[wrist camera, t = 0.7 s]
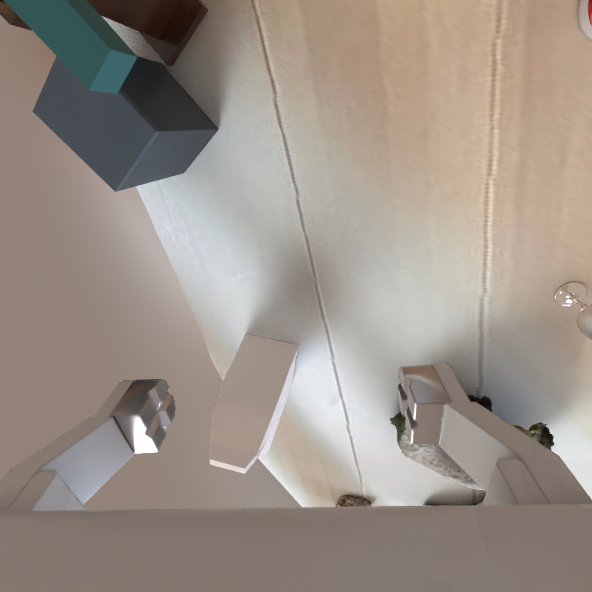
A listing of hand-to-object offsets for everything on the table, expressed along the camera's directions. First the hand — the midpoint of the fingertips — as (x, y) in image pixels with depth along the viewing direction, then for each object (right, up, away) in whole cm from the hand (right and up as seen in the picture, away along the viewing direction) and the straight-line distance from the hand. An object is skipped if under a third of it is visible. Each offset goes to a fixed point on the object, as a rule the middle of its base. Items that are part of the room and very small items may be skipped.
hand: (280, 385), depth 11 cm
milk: (-5, -11, +61) cm, 62 cm away
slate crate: (-19, +31, +40) cm, 54 cm away
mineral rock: (+18, -58, +82) cm, 102 cm away
